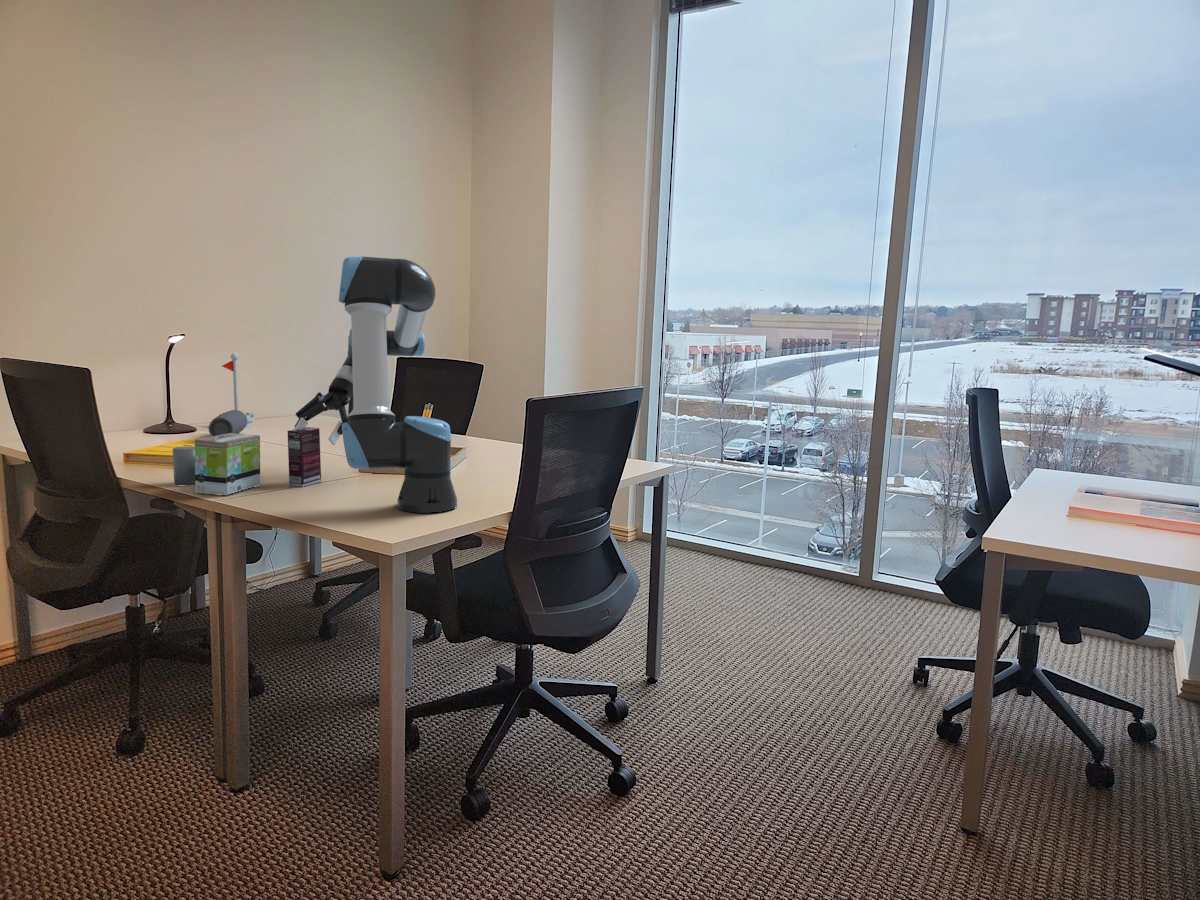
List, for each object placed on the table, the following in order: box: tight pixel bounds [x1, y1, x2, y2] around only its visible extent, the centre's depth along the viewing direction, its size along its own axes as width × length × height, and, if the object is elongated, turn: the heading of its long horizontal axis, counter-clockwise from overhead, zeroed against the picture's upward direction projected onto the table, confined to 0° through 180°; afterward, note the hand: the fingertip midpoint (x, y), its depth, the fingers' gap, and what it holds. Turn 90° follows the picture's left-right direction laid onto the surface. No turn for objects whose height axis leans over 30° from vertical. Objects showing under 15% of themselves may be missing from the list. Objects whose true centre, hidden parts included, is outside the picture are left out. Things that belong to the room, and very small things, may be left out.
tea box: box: [194, 433, 261, 496], centre depth 227 cm, size 15×10×15 cm
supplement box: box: [287, 426, 322, 488], centre depth 237 cm, size 9×5×16 cm, turn 161°
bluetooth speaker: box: [208, 409, 247, 437], centre depth 309 cm, size 23×9×10 cm, turn 10°
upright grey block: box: [172, 445, 196, 487], centre depth 232 cm, size 7×7×10 cm
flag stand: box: [218, 352, 255, 429], centre depth 336 cm, size 13×13×30 cm
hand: (312, 440), depth 241 cm, fingers open, 13 cm apart
